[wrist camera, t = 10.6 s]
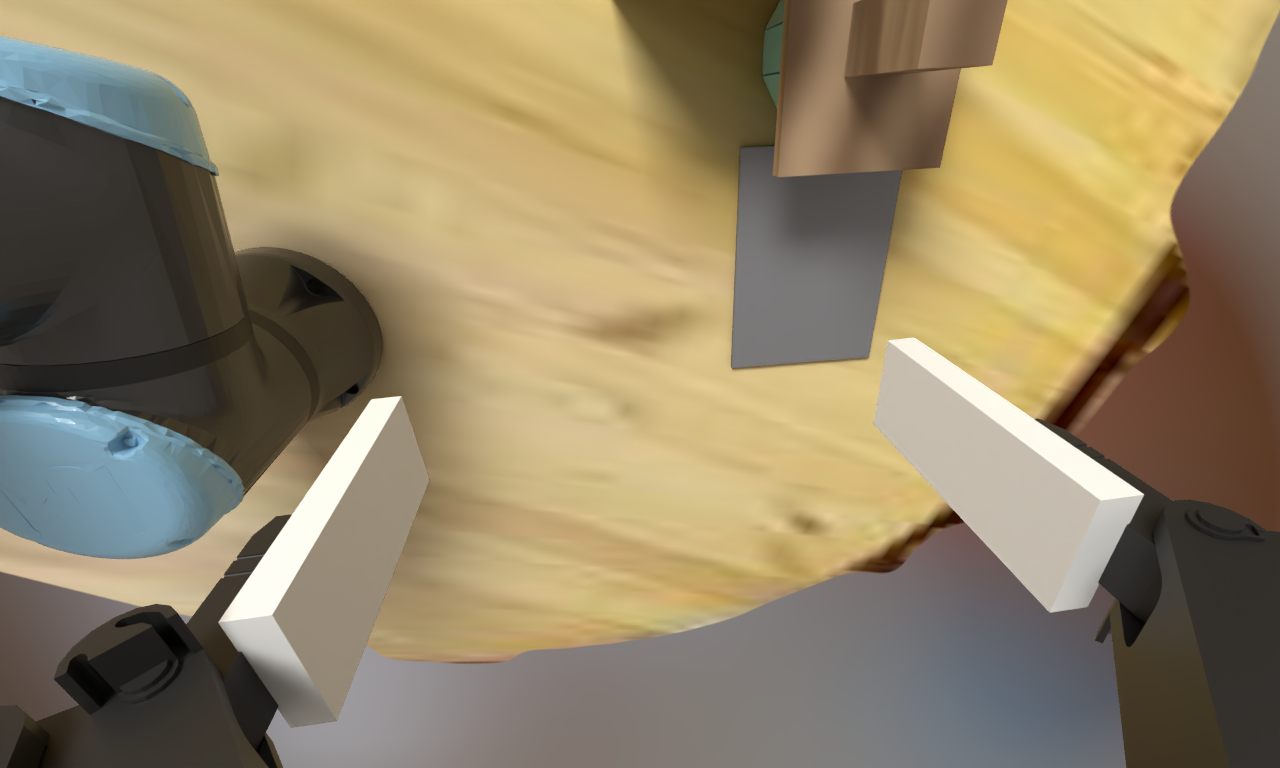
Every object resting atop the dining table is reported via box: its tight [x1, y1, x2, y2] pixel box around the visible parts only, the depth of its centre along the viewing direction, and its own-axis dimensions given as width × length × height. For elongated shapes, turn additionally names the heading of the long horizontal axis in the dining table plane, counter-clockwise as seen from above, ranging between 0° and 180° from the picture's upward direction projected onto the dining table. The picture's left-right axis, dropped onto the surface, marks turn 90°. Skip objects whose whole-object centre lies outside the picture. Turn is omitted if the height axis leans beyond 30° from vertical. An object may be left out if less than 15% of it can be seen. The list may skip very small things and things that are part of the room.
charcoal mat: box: [731, 146, 902, 368], centre depth 48 cm, size 14×20×1 cm
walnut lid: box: [773, 0, 1007, 177], centre depth 30 cm, size 12×16×10 cm
